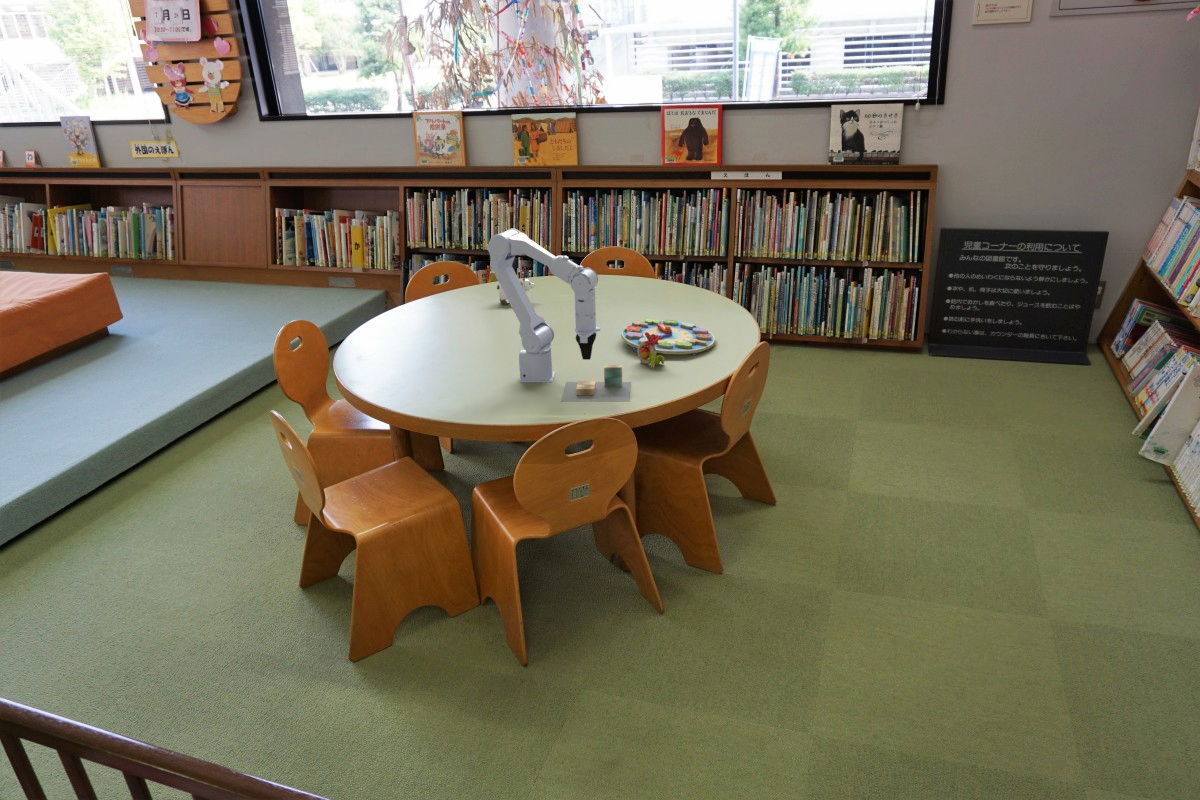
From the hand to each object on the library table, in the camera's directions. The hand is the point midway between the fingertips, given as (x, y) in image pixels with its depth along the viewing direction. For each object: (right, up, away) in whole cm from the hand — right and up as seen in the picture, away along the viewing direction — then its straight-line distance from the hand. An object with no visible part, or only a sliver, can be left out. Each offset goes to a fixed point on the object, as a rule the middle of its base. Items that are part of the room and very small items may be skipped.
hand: (586, 358), depth 230 cm
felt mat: (+3, -10, -3) cm, 11 cm away
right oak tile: (+8, -8, 0) cm, 11 cm away
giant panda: (-29, +26, +81) cm, 90 cm away
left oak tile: (0, -7, 0) cm, 7 cm away
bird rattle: (+19, -2, +16) cm, 24 cm away
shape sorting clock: (+26, +6, +35) cm, 44 cm away
